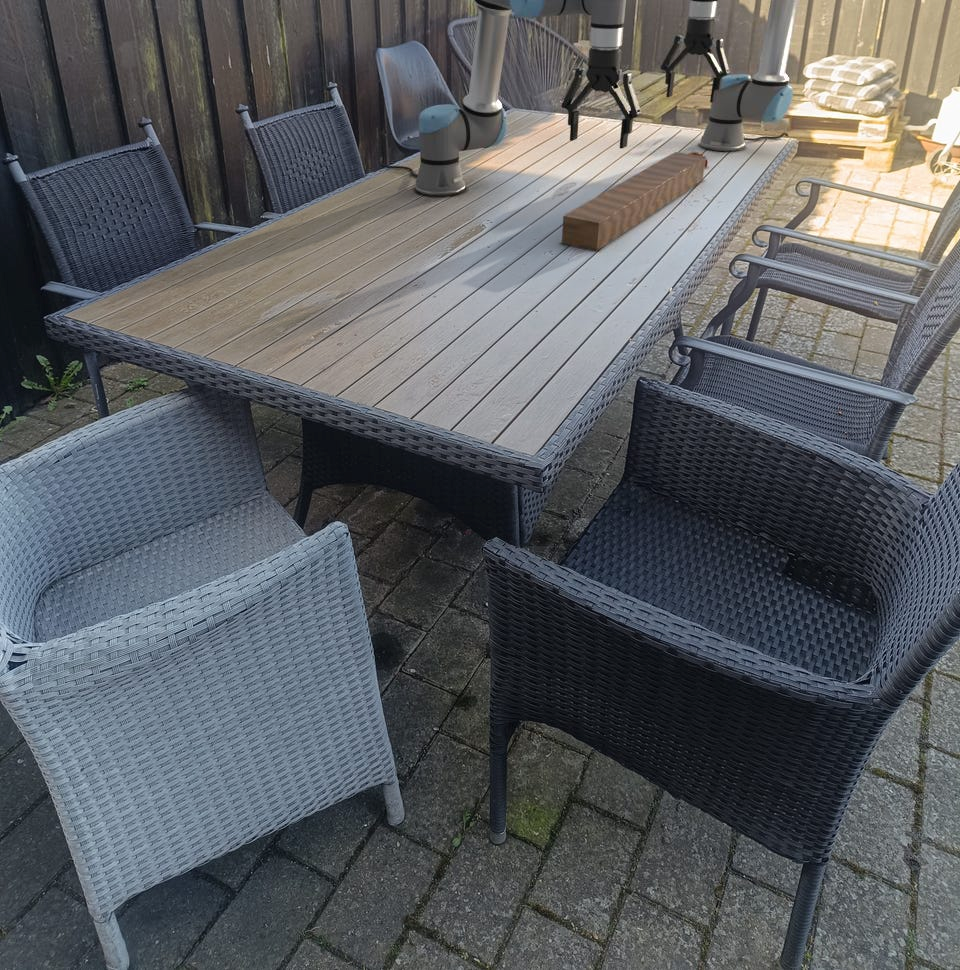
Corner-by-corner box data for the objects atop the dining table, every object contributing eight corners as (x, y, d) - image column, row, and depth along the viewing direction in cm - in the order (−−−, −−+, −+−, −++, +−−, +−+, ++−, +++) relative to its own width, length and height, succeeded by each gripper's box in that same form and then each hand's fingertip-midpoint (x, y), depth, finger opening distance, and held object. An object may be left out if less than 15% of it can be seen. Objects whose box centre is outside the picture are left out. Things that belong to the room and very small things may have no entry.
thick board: (596, 251, 216) (599, 222, 211) (561, 243, 220) (563, 215, 216) (702, 180, 267) (706, 156, 262) (672, 175, 271) (675, 151, 267)
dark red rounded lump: (699, 148, 281) (710, 154, 275) (697, 161, 284) (708, 168, 277) (683, 150, 280) (694, 156, 274) (682, 163, 283) (692, 170, 276)
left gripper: (662, 50, 192) (651, 147, 205) (565, 40, 203) (560, 133, 216) (648, 54, 187) (638, 153, 200) (550, 45, 198) (546, 139, 211)
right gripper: (749, 19, 235) (735, 101, 247) (665, 13, 246) (656, 92, 258) (740, 22, 230) (727, 106, 242) (655, 16, 241) (646, 96, 253)
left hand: (598, 143), depth 208 cm, fingers open, 13 cm apart
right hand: (690, 99), depth 250 cm, fingers open, 13 cm apart
